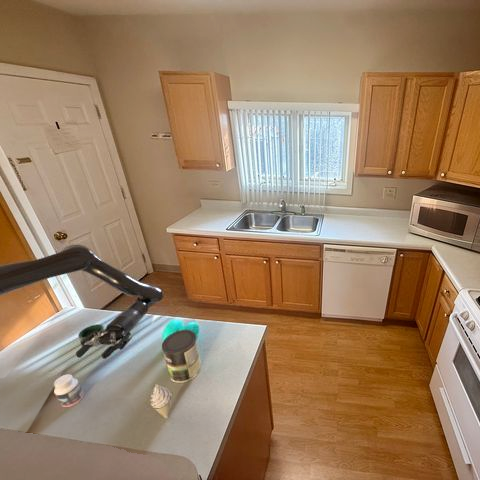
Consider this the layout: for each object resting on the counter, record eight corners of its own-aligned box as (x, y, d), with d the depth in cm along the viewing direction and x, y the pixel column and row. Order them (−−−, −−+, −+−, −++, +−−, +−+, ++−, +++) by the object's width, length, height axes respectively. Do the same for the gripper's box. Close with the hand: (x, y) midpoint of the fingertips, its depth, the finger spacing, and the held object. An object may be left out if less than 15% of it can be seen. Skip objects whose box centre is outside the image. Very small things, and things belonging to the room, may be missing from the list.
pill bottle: (56, 405, 78) (45, 385, 74) (75, 389, 82) (65, 370, 79) (70, 409, 77) (59, 390, 73) (88, 393, 81) (79, 374, 78)
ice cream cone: (155, 417, 76) (143, 383, 70) (173, 405, 79) (163, 372, 73) (160, 430, 73) (148, 396, 67) (179, 418, 76) (169, 384, 70)
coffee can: (173, 389, 84) (165, 358, 78) (166, 367, 91) (158, 338, 86) (205, 372, 90) (200, 342, 85) (197, 353, 97) (191, 325, 92)
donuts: (187, 354, 97) (182, 335, 93) (163, 350, 98) (158, 330, 94) (202, 335, 106) (198, 316, 102) (180, 332, 107) (176, 313, 103)
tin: (77, 346, 98) (74, 340, 97) (85, 332, 104) (83, 326, 103) (101, 341, 101) (99, 335, 100) (108, 328, 107) (105, 322, 106)
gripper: (103, 314, 98) (64, 347, 83) (140, 316, 98) (108, 349, 84) (109, 329, 101) (72, 363, 86) (145, 330, 101) (114, 365, 87)
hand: (90, 356), depth 85 cm, fingers open, 8 cm apart
